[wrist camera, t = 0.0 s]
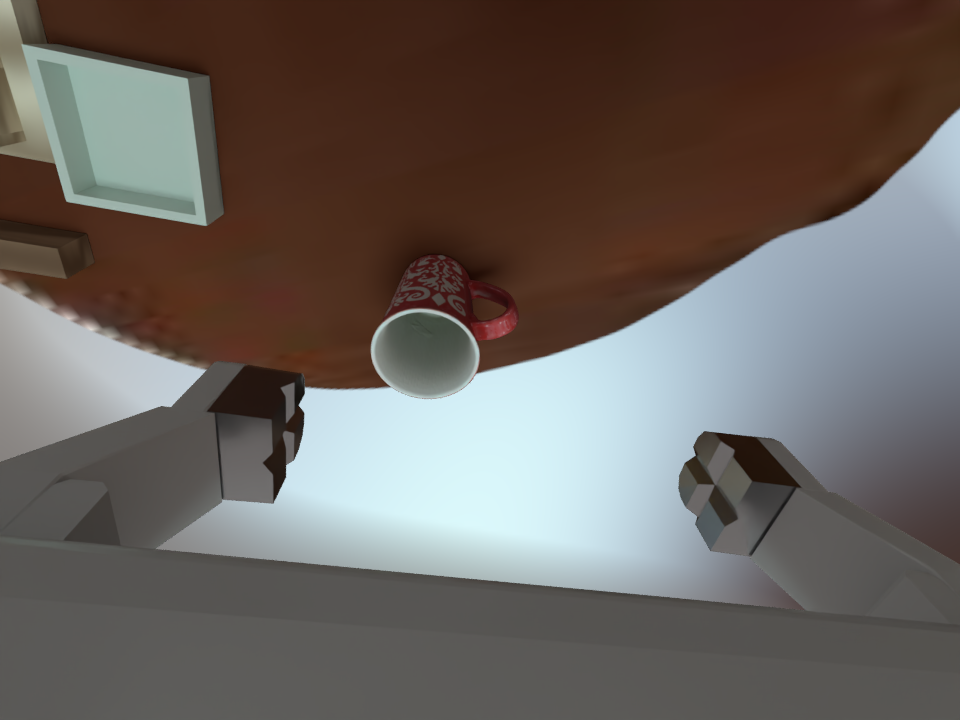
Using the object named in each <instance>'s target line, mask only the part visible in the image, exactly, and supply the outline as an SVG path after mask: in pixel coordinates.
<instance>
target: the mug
mask: <svg viewBox="0 0 960 720" xmlns="http://www.w3.org/2000/svg"><path fill="white" fill-rule="evenodd" d="M475 298H484V299H487V300H490V301H493V302H496V303H498V304H500V305H503V306H504V307H506V308H507V310H506V311H505V312H504V313H503V314H502V315H500V316H499V317H496V318H494V319H492V320H486V321H480V320H478V319H477V317H476V316H475V315H474V314H473V306H472V300H473V299H475ZM518 320H519V314H518V309H517V307H516V304H515V301H514V299H513V298H512V296H511V295H510V294H509V293H508V292H506V291H505V290H503V289H501V288H499V287H496V286H494V285H491V284H488V283H484V282H480V281H475V280H470V279H469V276H468V274H467V272H466V271H465V269H464V268H463V267H462V266H461V265H460V264H459V263H458V262H457V261H455V260H454V259H452V258H449V257H447V256H443V255H426V256H423V257H420V258H418V259H417V260H415V261H414V262H413V263H411V264H410V266H409V267H408V268H407V269H406V271H405V273H404V275H403V277H402V279H401V281H400V284H399V286H398V288H397V290H396V292H395V295H394V297H393V299H392V301H391V304H390V306H389V308H388V310H387V312H386V314H385V316H384V319H383V321H382V323H381V324H380V325H379V326H378V328H377V329H376V331H375V333H374V335H373V338H372V342H371V357H372V361H373V365H374V367H375V369H376V371H377V372H378V374H379V375H380V377H381V378H382V379H383V380H384V381H385V382H386V383H387V384H388V385H389V386H391V387H392V388H394V389H395V390H397V391H398V392H401V393H403V394H405V395H408V396H411V397H416V398H422V399H436V398H442V397H446V396H449V395H452V394H454V393H456V392H458V391H460V390H462V389H463V388H464V387H465V386H467V385H468V384H469V383H470V382H471V381H472V379H473V377H474V376H475V374H476V372H477V370H478V367H479V362H480V351H479V346H478V344H477V341H480V340H489V339H495V338H499V337H502V336H504V335H506V334H508V333H509V332H511V331H512V330H513V329H514V328H515V327H516V325H517V323H518Z"/></svg>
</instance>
